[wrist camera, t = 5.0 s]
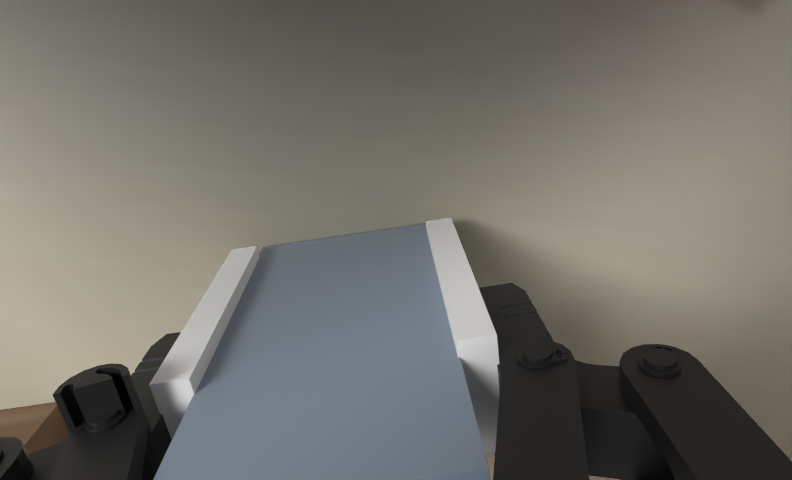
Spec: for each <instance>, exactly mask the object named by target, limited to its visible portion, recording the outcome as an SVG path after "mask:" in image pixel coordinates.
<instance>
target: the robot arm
mask: <svg viewBox="0 0 792 480" xmlns="http://www.w3.org/2000/svg"><path fill="white" fill-rule="evenodd" d="M425 222H426V229H427V235H428V239H429V243H430V247H431V251H432V255H433V259H434V263H435V267H436V271H437V275H438V279H439V283H440V287H441V291H442V295H443V299H444V303H445V307H446V311H447V315H448V319H449V323H450V327H451V331H452V335H453V340H454V344H455V348H456V352H457V356H458V358H459V357H460V359H461V363H462V367H463V371H464V375H465V379H466V382H467V386H468V390H469V394H470V398H471V402H472V406H473V409H474V413H475V417H476V421H477V425H478V429H479V433H480V436H481V440H482V444H483V448H484V452H485V454H489V453H495V463H494V476H493V480H589V475H591V476H599V477H607V478H616V479H620V480H792V461H791V460H790V459H789V458H788V457H787V456H786V455H785V454H784V453H783V452H782V451H781V449H780V448H779V447H778V446H777V445H776V444H775V443H774V442H773V441H772V440H771V439H770V438H769V436H768V435H767V434H766V433H765V432H764V431H763V430H762V429H761V428H760V427H759V426H758V425H757V423H756V422H755V421H754V420H753V419H752V418H751V417H750V416H749V415H748V414H747V413H746V412H745V410H744V409H743V408H742V407H741V406H740V405H739V404H738V403H737V402H736V401H735V400H734V399H733V397H732V396H731V395H730V394H729V393H728V392H727V391H726V390H725V389H724V388H723V387H722V386H721V384H720V383H719V382H718V381H717V380H716V379H715V378H714V377H713V376H712V375H711V374H710V373H709V371H708V370H707V369H706V368H705V367H704V366H703V365H702V364H701V363H700V362H699V361H698V360H697V359H696V358H695V357H693V356H692V355H691V354H689V353H688V352H685V351H683V350H680V349H678V348H675V347H671V346H667V345H660V344H648V345H640V346H637V347H633V348H630V349H629V350H628V351H626V352H625V353H623V355H622V357H621V360H620V367H619V366H602V365H593V364H586V363H582V362H579V361H576V360H574V357H573V355H572V353H571V351H570V350H568V349H567V348H566V347H564V346H563V345H562V344H559V343H556V342H554V341H553V340H552V338H551V336H550V334H549V332H548V331H547V329H546V327H545V325H544V323H543V322H542V320H541V318H540V316H539V315H538V314H537V311H536V309H535V307H534V306H533V305H532V302H531V300H530V298H529V297H528V295H527V293H526V291H524V290H523V289H521V288H519V287H518V286H516V285H514V284H513V283H509V284H502V285H495V286H488V287H481V288H478V285H477V283H476V280H475V278H474V275H473V272H472V270H471V267H470V265H469V262H468V260H467V257H466V254H465V252H464V249H463V247H462V244H461V242H460V239H459V236H458V234H457V231H456V229H455V226H454V224H453V221H452V218H451V217H450V218H443V219H436V220H429V221H425ZM259 258H260V254H259V250H258V246H251V247H244V248H237V249H232V250H231V252H230V253H229V255H228V257H227V258H226V260H225V261H224V263H223V265H222V266H221V268H220V270H219V271H218V273H217V275H216V276H215V278H214V279H213V281H212V283H211V284H210V286H209V288H208V289H207V291H206V292H205V294H204V296H203V297H202V299H201V301H200V302H199V304H198V306H197V307H196V309H195V310H194V312H193V314H192V315H191V317H190V319H189V320H188V322H187V323H186V325H185V327H184V328H183V330H182V332H178V333H171V334H166V335H165V336H164V337H163V338H161V339H160V340H159V341H157V342H156V343H155V344H154V345H152V346H151V347H150V349H149V350H148V352H147V353H146V355H145V356H144V358H143V359H142V362H140V364H139V365H138V366H137V368H136V369H135V373H133V374H132V375H131V376H130V373H129V370H128V368H127V367H125V366H123V365H122V364H106V365H100V366H96V367H93V368H91V369H88V370H85V371H83V372H81V373H79V374H77V375H75V376H73V377H71V378H70V379H68V380H67V381H66V382H64V383H63V384H62V385H60V386H59V387H58V389H57V390H56V391H55V392H54V394H53V397H54V399H55V401H56V403H57V406H58V408H59V410H60V412H61V415H62V417H63V419H64V421H65V423H66V426H67V428H68V430H69V431H68V434H67V436H66V439H65V441H64V442H61V443H58V444H55V445H52V446H49V447H46V448H43V449H41V450H38V451H35V452H32V453H29V454H28V453H27V451H26V449H25V447H24V445H23V443H22V441H21V440H20V439H18V438H16V437H1V438H0V480H153V479H154V477H155V475H156V473H157V471H158V468H159V466H160V464H161V462H162V460H163V458H164V456H165V454H166V452H167V449H168V447H169V445H170V443H171V441H172V439H173V437H174V435H175V433H176V430H177V428H178V426H179V424H180V422H181V420H182V418H183V416H184V414H185V411H186V409H187V407H188V405H189V403H190V401H191V399H192V397H193V395H195V393H196V390H197V388H198V386H199V384H200V382H201V380H202V378H203V376H204V374H205V371H206V369H207V367H208V365H209V363H210V361H211V359H212V357H213V355H214V352H215V350H216V348H217V346H218V344H219V342H220V340H221V338H222V336H223V334H224V331H225V329H226V327H227V325H228V323H229V321H230V319H231V317H232V315H233V312H234V310H235V308H236V306H237V304H238V302H239V300H240V298H241V296H242V293H243V291H244V289H245V287H246V285H247V283H248V281H249V279H250V277H251V274H252V272H253V270H254V268H255V266H256V264H257V262H258V260H259Z"/></svg>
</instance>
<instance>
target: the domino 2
mask: <svg viewBox="0 0 792 480" xmlns="http://www.w3.org/2000/svg"><path fill="white" fill-rule="evenodd" d="M153 480H490V475H489V467H488V463H487V460H486V456H485V452H484V448H483V444H482V440H481V436H480V433H479V429H478V425H477V421H476V417H475V413H474V409H473V406H472V402H471V398H470V394H469V390H468V386H467V382H466V379H465V375H464V371H463V367H462V363H461V359H460V357H459V358H458V356H457V352H456V348H455V344H454V340H453V335H452V331H451V327H450V323H449V319H448V315H447V311H446V307H445V303H444V299H443V295H442V291H441V287H440V283H439V279H438V275H437V271H436V267H435V263H434V259H433V255H432V251H431V247H430V243H429V239H428V235H427V229H426V224H418V225H411V226H404V227H397V228H391V229H384V230H377V231H370V232H363V233H356V234H349V235H343V236H336V237H329V238H322V239H315V240H308V241H302V242H295V243H288V244H281V245H274V246H267V247H263V249H262V251H261V253H260V258H259V260H258V262H257V264H256V266H255V268H254V270H253V272H252V274H251V277H250V279H249V281H248V283H247V285H246V287H245V289H244V291H243V293H242V296H241V298H240V300H239V302H238V304H237V306H236V308H235V310H234V312H233V315H232V317H231V319H230V321H229V323H228V325H227V327H226V329H225V331H224V334H223V336H222V338H221V340H220V342H219V344H218V346H217V348H216V350H215V352H214V355H213V357H212V359H211V361H210V363H209V365H208V367H207V369H206V371H205V374H204V376H203V378H202V380H201V382H200V384H199V386H198V388H197V390H196V393H195V395H193V397H192V399H191V401H190V403H189V405H188V407H187V409H186V411H185V414H184V416H183V418H182V420H181V422H180V424H179V426H178V428H177V430H176V433H175V435H174V437H173V439H172V441H171V443H170V445H169V447H168V449H167V452H166V454H165V456H164V458H163V460H162V462H161V464H160V466H159V468H158V471H157V473H156V475H155V477H154V479H153Z"/></svg>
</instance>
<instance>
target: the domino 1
mask: <svg viewBox="0 0 792 480" xmlns="http://www.w3.org/2000/svg"><path fill="white" fill-rule="evenodd" d="M68 431H69V430H68V428H67V426H66V423H65V421H64V419H63V417H62V415H61V412H60V410H59V408H58V406H57V403H56V402H54V403H47V404H40V405H33V406H26V407H19V408H12V409H5V410H0V438H1V437H16V438H18V439H20V440H21V441H22V443H23V445H24V447H25V449H26V451H27V453H28V454H29V453H32V452H35V451H38V450H41V449H43V448H46V447H49V446H52V445H55V444H58V443H61V442H64V441H65V439H66V436H67V434H68Z"/></svg>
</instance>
